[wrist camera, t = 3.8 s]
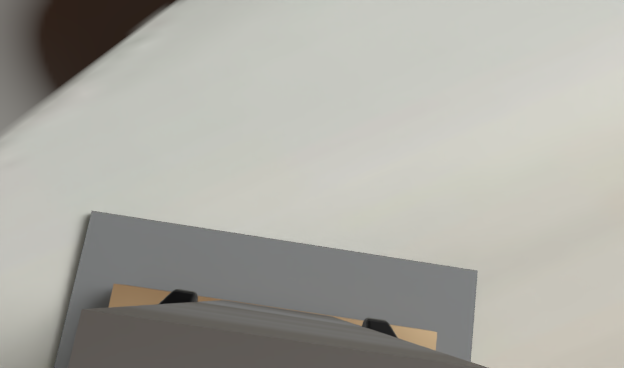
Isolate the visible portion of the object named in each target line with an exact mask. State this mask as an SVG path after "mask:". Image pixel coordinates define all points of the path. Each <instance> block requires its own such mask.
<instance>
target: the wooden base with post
mask: <svg viewBox="0 0 624 368" xmlns="http://www.w3.org/2000/svg"><path fill="white" fill-rule="evenodd" d="M170 293H171V292H170V291H164V290H157V289H150V288H144V287H137V286H130V285H124V284H114V285H113V289H112V294H111V298H110V302H109V307H108V308H93V309H82V310H81V315H80V319H79V323H78V327H77V331H76V336H75V340H74V344H73V348H72V353H71V357H70V361H69V365H68V368H487V367H484V366H481V365H478V364H475V363H472V362H469V361H466V360H463V359H460V358H457V357H454V356H451V355H448V354H445V353H442V352H439V351H436V341H437V332H434V331H430V330H424V329H417V328H411V327H404V326H397V325H391V324H390V326H391V327H392V329H393V331H394V332H395V334H396V336H397V337H398V338H396V337H393V336H390V335H387V334H384V333H381V332H378V331H375V330H372V329H369V328H365V327H362V324H363V321H364V320H357V319H351V318H344V317H337V316H331V315H324V314H317V313H311V312H304V311H297V310H291V309H284V308H277V307H270V306H264V305H257V304H250V303H244V302H237V301H230V300H224V299H217V298H210V297H204V296H198V302H186V303H171V304H159V303H160V302H161V301H162V300H163V299H164V298H165V297H166V296H167V295H168V294H170Z"/></svg>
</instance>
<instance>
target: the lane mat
mask: <svg viewBox="0 0 624 368" xmlns="http://www.w3.org/2000/svg"><path fill="white" fill-rule="evenodd" d="M114 284H124V285H130V286H137V287H144V288H150V289H157V290H164V291H170V292H172V291H173V290H175V289H183V290H190V291H195V292H196V293H197V295H198V296H204V297H210V298H217V299H224V300H230V301H237V302H244V303H250V304H257V305H264V306H270V307H277V308H284V309H291V310H297V311H304V312H311V313H317V314H324V315H331V316H337V317H344V318H351V319H357V320H365V318H368V317H369V318H376V319H382V320H386V321H387V322H388V323H389V324H391V325H397V326H404V327H411V328H417V329H424V330H430V331H434V332H437V341H436V351H439V352H442V353H445V354H448V355H451V356H454V357H457V358H460V359H463V360H466V361H469V362H471V349H472V336H473V323H474V310H475V297H476V284H477V271H476V270H470V269H463V268H457V267H450V266H444V265H438V264H431V263H425V262H418V261H412V260H405V259H399V258H392V257H386V256H380V255H373V254H367V253H360V252H354V251H347V250H341V249H334V248H328V247H322V246H315V245H309V244H302V243H296V242H289V241H283V240H276V239H270V238H264V237H257V236H251V235H244V234H238V233H231V232H225V231H218V230H212V229H206V228H199V227H193V226H186V225H180V224H173V223H167V222H160V221H154V220H147V219H141V218H135V217H128V216H122V215H115V214H109V213H102V212H96V211H92V212H91V216H90V220H89V224H88V228H87V233H86V237H85V241H84V245H83V249H82V253H81V257H80V262H79V266H78V270H77V274H76V278H75V282H74V286H73V290H72V295H71V299H70V303H69V307H68V311H67V315H66V319H65V323H64V328H63V332H62V336H61V340H60V344H59V348H58V352H57V356H56V361H55V365H54V368H68V365H69V361H70V357H71V353H72V348H73V344H74V340H75V336H76V331H77V327H78V323H79V319H80V315H81V310H82V309H93V308H108V307H109V302H110V298H111V294H112V289H113V285H114Z"/></svg>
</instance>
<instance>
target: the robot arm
mask: <svg viewBox="0 0 624 368" xmlns="http://www.w3.org/2000/svg"><path fill="white" fill-rule="evenodd" d="M186 302H198V295H197V293H196V292H195V291H190V290H183V289H175V290H173V291H172V292H171V293H170V294H168V295H167V296H166V297H165V298H164V299H163V300H162V301H161V302H160V303H159V304H171V303H186ZM362 327H365V328H369V329H372V330H375V331H378V332H381V333H384V334H387V335H390V336H393V337H396V338H398V337H397V336H396V334H395V332H394V331H393V329H392V327H391V326H390V324H389V323H388V322H387V321H386V320H382V319H376V318H369V317H368V318H365V320H364V321H363V324H362Z"/></svg>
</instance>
